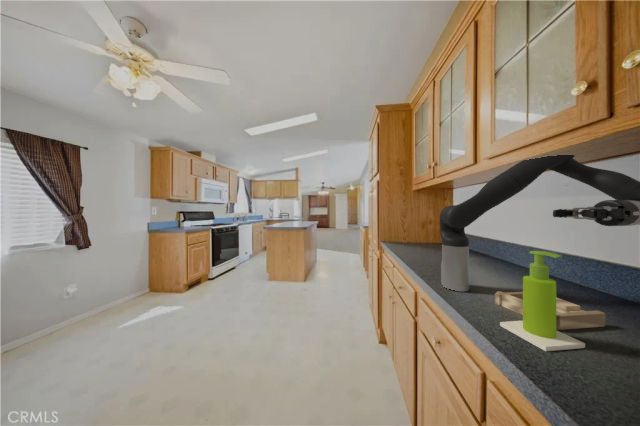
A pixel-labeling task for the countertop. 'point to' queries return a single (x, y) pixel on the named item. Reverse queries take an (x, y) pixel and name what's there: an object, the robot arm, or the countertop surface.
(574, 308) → the offcut stack
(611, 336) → the countertop surface
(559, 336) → the cream tile
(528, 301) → the soap dispenser
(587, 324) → the pine rack
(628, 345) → the countertop surface
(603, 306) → the countertop surface
